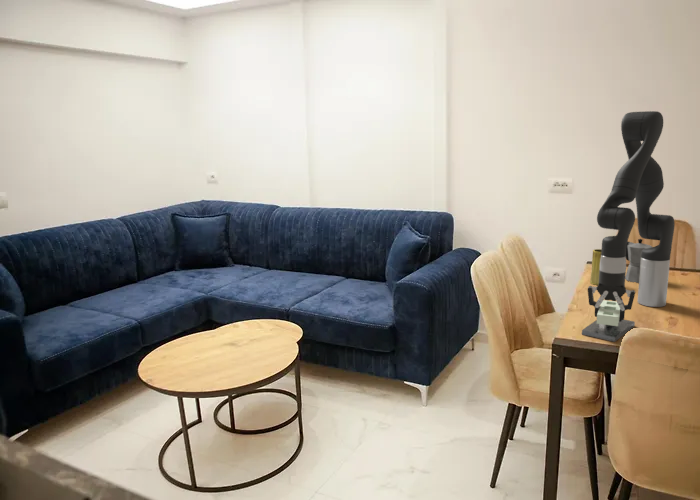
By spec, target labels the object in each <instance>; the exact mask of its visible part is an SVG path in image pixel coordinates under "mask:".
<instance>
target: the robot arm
mask: <svg viewBox="0 0 700 500" xmlns="http://www.w3.org/2000/svg"><path fill="white" fill-rule="evenodd" d="M620 123H621V125H620V127H621V128H620V129H621V136H622V140H623V144H624V147H625V151H626V155H627V158H628V160H627V161H626V162H625V163H624V164H623V165H622V166H621V167H620V169H619V170H618V171H617V174H616V175H615V178H614V181H613V184H612V188H611V192H610V193H609V195H608V196H607V198H606V199H605V201H604V203H603V204H601V207H600V208H599V210H598V213H597V216H596V221H597V224H598V226H599V227H600V228H602V229H606V230H613V231H615V230H616V231H617V234H616V235H609V236H605V237H603V238H602V241H601V249H602V250H601V259H600V269H599V284H598V285H596V286H592V285H589V286H588V287H587V296H588V305H589V306H592V307H594V317H595V318H597V313H598V310H599V308H600V305H601V303H602V302H603V300H606V301H616V302H617V303H618V305H619V307H620V317H619V321H620V322H621V321H622V320H625V316H626V315H625V314H626V311H628V310H632V309H633V308H632V307H633V303H634V300H635V296H636V295H635V294H636V290H635V289H631V290H630V289H627V288H626V286H625V285H626V284H625V283H626V279H625V277H626V273H627V260H626V247H627V242H629V238H630V235H631V231H632V229H633V227H634V225H635V221H637V230H638V234H639V237H640V238H641V239H646V240H654V241H659V242H658V243H659V244H658V245H656V246H652V247H651V248H646V249H643V250H642V252H641V263H640V276H639V283H638V290H637V304H640V305H643V306H646V307H652V308H653V307H655V308H657V307H658V308H661V307H665V306H666V304H667V296H668V295H667V294H668V286H669V277H670V276H669V275H670V263H671V253H672V246H673V239H674V232H675V224H676V223H675V218H674V217H673V216H672V215H669V214H668V215H667V214H656V213H651V211H650V208H651V207H652V205H653V203H654V202H655V201H656V200H657V199H658V197H659V196H660V194H661V193H662V191H663V189H664V185H665V183H664V182H665V181H664V176H663V175H664V174H663V170H662V166H660V164H659V163H658V162H657V161H656V160H655V159H654V157H653V153H654V151H655V148H656V146H657V144H658V142H659V140H660V138H661V135H662V132H663V129H664V117H663V114H662V113H661V112H660V111H658V110H657V111H656V110H655V111H651V110H649V111H647V110H646V111H631V112H626V113H625V114H624V115H623V117H622V118H621V122H620ZM634 201H635V205H636V215H635V212H634V211H633V209H631V208H629V207H624V206H623V207H621V206H620V205H623V204H628V203H632V202H634ZM636 219H637V220H636ZM596 291H597V292H598V294H599V295H600V296H599V298H598V299H597V300H596V301H595V300H594V294H595V293H596ZM625 294H626V296H627V297H628V298H629V299H628V302H627V304H625V303H624V300H623V298H622V297H623V296H624V295H625Z"/></svg>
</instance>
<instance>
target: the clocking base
mask: <svg viewBox="0 0 700 500" xmlns="http://www.w3.org/2000/svg"><path fill="white" fill-rule="evenodd" d="M596 323H597V319H596V320H595V321H593V322H592V323H590V324H589V325H587V326H586V327H585V328H582V329H581V335H583V336H586V337H592V338H596V339H599V340H605V341H607V342H608V341H609V342H614V343H615V342H617V341H618V340H619V339H620V338H622V337H623V336H624V335H625V334H627V333H628V332H629V331H630V330H632V329H633V328H634V327H635V325H636V321H633V320H627V319H624V320H622V321H621V322H620V321H619V323H618V326H611V325H604V324H596ZM627 331H628V332H627Z"/></svg>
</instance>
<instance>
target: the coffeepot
mask: <svg viewBox="0 0 700 500" xmlns="http://www.w3.org/2000/svg"><path fill="white" fill-rule="evenodd" d="M637 241H638V242H637V243H635V242H631V241H627V247H626V261H628V262H629V265H627V268H626V274H625V281H627V282H629V281H630V283H634V282H636V284H639V276H640V263H641V252H642V250H643V249H646V248H651V247H653V246H652V245H650V244H646V243H643V238H639V239H637Z"/></svg>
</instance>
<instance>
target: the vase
mask: <svg viewBox="0 0 700 500" xmlns="http://www.w3.org/2000/svg"><path fill="white" fill-rule="evenodd" d="M601 250H602V248H601V249H600V248H599V249H598V248H597V249H595V248H594V249H592V258H591V259H592V260H591V267H590V268H591V271H590V281H589V283H590V284H591V285H595V286H598V284H599V269H600V259H601Z"/></svg>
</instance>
